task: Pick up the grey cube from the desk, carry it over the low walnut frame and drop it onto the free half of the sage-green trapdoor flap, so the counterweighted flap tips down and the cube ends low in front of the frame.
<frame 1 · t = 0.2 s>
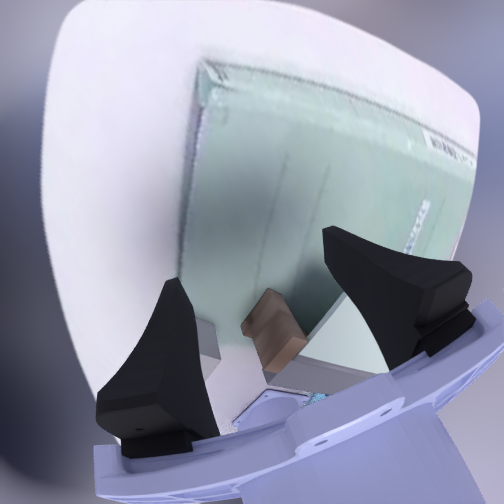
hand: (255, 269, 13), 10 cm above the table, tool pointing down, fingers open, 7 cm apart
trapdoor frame: (331, 333, 31), on the table
trapdoor: (359, 356, 26), point 6 cm above the table, hinge at 0.0°
grey cube: (182, 330, 27), on the table
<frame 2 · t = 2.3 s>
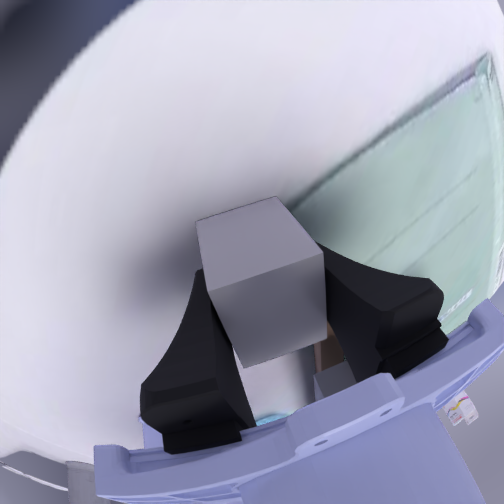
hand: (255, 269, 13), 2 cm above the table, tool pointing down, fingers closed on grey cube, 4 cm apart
ink cartridge box: (446, 390, 60), on the table
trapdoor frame: (344, 363, 24), on the table
glass holder: (99, 470, 33), on the table
trapdoor: (380, 402, 20), point 5 cm above the table, hinge at 0.0°
grey cube: (247, 250, 14), on the table, touching gripper
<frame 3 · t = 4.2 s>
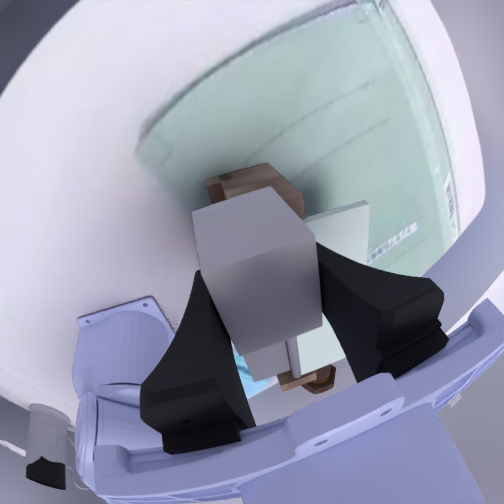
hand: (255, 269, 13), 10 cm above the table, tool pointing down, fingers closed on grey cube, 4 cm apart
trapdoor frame: (266, 275, 27), on the table
bolt: (314, 337, 36), on the table
glass holder: (61, 419, 36), on the table
trapdoor: (297, 310, 23), point 5 cm above the table, hinge at 0.0°
grey cube: (243, 240, 15), point 8 cm above the table, touching gripper
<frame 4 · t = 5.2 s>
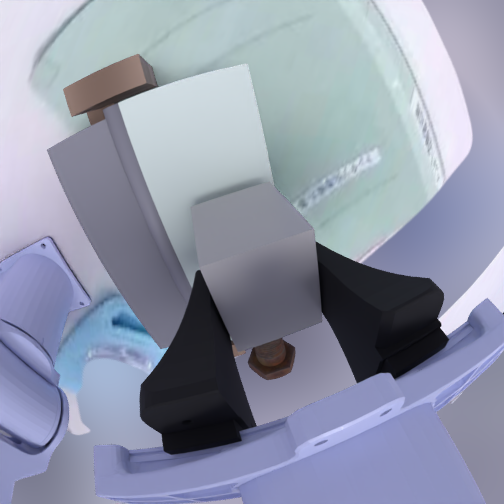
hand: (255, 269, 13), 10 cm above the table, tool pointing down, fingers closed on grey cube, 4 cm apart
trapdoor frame: (170, 208, 21), on the table
bolt: (258, 305, 30), on the table
trapdoor: (186, 238, 17), point 6 cm above the table, hinge at 0.0°
grey cube: (242, 236, 15), point 8 cm above the table, touching gripper
when the fingers open (9 cm above the table, at t = 6.1 s): grey cube stays where it is, resting on trapdoor.
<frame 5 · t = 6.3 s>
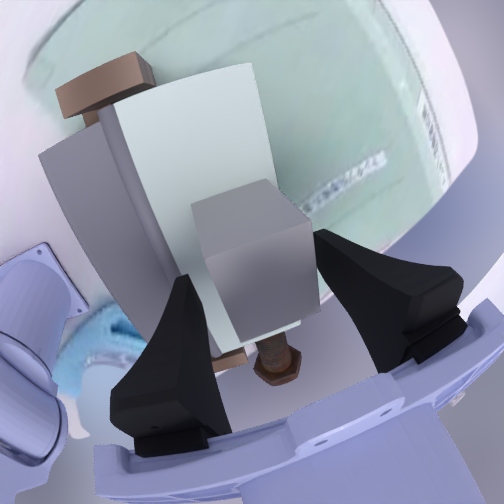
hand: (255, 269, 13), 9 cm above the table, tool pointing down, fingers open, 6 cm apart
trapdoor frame: (169, 214, 20), on the table
bolt: (261, 312, 29), on the table
trapdoor: (186, 246, 16), point 5 cm above the table, hinge at -2.1°, touching grey cube
grey cube: (240, 231, 15), point 7 cm above the table, touching trapdoor
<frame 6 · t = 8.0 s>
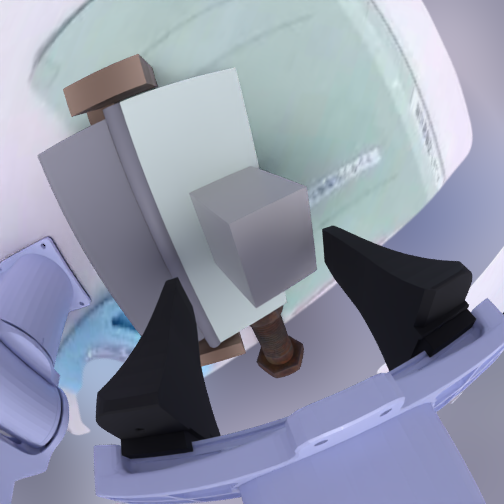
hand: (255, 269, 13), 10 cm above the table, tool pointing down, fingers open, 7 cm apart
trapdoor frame: (170, 208, 21), on the table
bolt: (261, 305, 30), on the table
trapdoor: (181, 237, 17), point 5 cm above the table, hinge at -16.6°, touching grey cube
grey cube: (232, 216, 17), point 6 cm above the table, tilted 17°, touching trapdoor
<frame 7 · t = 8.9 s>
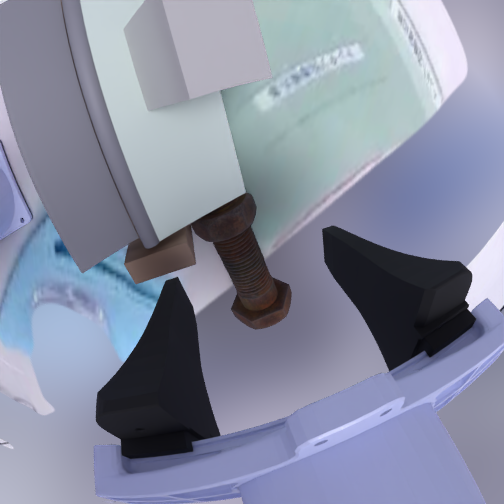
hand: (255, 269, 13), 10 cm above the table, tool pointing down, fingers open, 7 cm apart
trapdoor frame: (119, 93, 15), on the table
bolt: (232, 230, 24), on the table
trapdoor: (111, 89, 11), point 5 cm above the table, hinge at -24.8°, touching grey cube
grey cube: (169, 58, 11), point 5 cm above the table, tilted 25°, touching trapdoor
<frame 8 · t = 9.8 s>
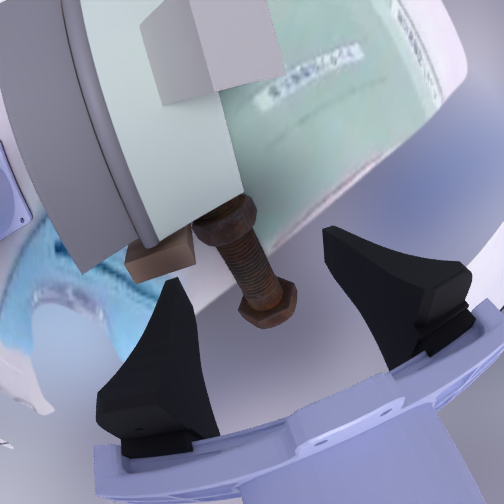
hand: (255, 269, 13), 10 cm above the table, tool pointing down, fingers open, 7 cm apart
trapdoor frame: (119, 93, 15), on the table
bolt: (235, 233, 25), on the table, touching trapdoor
trapdoor: (110, 89, 11), point 5 cm above the table, hinge at -26.6°, touching bolt, grey cube
grey cube: (182, 55, 12), point 4 cm above the table, tilted 27°, touching trapdoor
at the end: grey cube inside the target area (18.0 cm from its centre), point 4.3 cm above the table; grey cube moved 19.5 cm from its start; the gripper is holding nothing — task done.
